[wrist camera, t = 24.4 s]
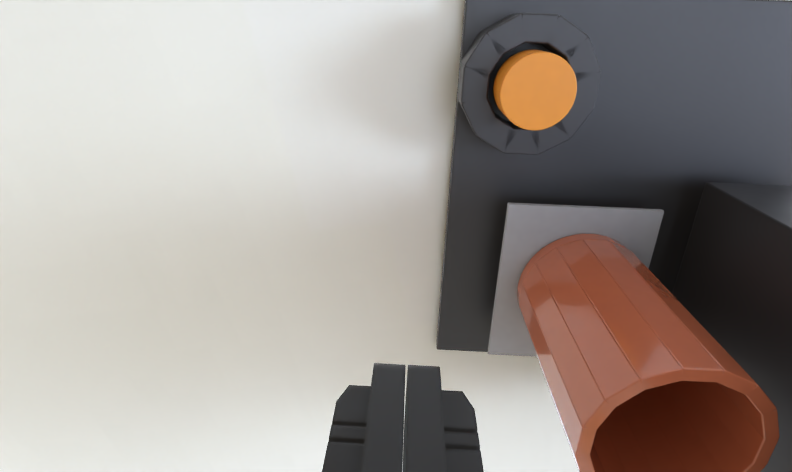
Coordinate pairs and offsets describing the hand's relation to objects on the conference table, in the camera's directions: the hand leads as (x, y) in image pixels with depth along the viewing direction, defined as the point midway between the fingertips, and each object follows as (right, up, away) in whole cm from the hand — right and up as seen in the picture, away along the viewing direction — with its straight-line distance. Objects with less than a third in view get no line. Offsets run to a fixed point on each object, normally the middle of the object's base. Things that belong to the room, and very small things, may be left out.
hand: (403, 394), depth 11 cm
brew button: (+6, +10, +11) cm, 16 cm away
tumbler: (+9, +1, +14) cm, 17 cm away
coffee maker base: (+12, +6, +15) cm, 20 cm away
